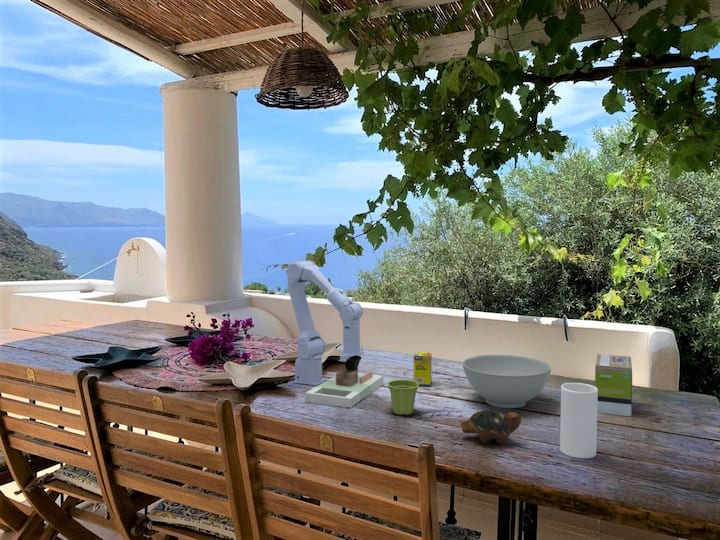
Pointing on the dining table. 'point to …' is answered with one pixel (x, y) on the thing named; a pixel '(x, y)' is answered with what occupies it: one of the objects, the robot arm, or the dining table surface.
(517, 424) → the decorative turtle
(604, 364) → the tea box
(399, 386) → the plant pot
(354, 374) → the walnut block
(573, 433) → the cup
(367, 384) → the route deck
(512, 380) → the decorative bowl
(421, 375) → the supplement box
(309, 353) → the robot arm
